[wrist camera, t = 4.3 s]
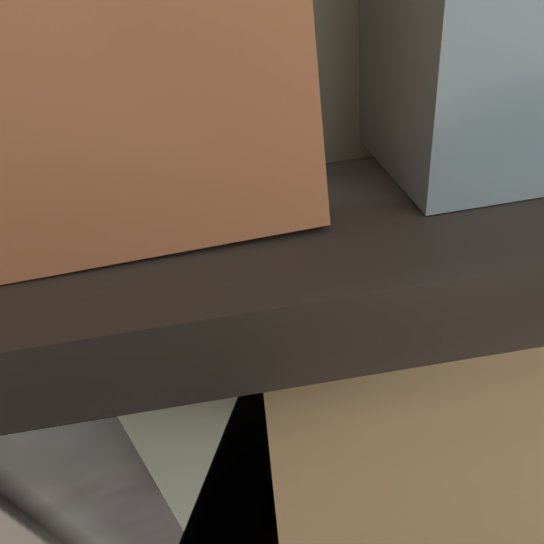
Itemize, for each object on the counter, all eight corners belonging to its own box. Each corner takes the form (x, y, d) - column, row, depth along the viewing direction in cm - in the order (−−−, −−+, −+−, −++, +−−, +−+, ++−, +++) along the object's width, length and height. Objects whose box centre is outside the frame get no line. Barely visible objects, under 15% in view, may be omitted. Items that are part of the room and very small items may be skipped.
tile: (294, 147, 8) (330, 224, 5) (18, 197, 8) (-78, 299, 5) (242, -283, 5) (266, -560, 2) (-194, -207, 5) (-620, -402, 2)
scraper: (538, 394, 11) (784, 717, 6) (160, 456, 11) (112, 834, 6) (635, 114, 7) (1545, 411, 2) (41, 208, 7) (-371, 736, 2)
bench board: (496, 427, 17) (526, 476, 15) (191, 485, 17) (188, 540, 15) (656, -295, 7) (804, -390, 5) (-118, -142, 7) (-231, -185, 5)
